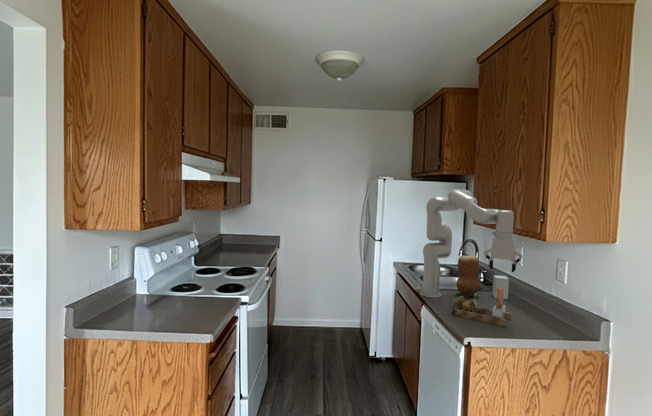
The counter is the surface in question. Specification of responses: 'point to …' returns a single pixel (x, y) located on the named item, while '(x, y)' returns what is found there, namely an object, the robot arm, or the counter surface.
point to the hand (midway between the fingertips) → (502, 270)
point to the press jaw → (499, 305)
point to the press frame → (479, 317)
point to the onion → (469, 306)
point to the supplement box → (500, 285)
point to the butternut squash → (468, 275)
